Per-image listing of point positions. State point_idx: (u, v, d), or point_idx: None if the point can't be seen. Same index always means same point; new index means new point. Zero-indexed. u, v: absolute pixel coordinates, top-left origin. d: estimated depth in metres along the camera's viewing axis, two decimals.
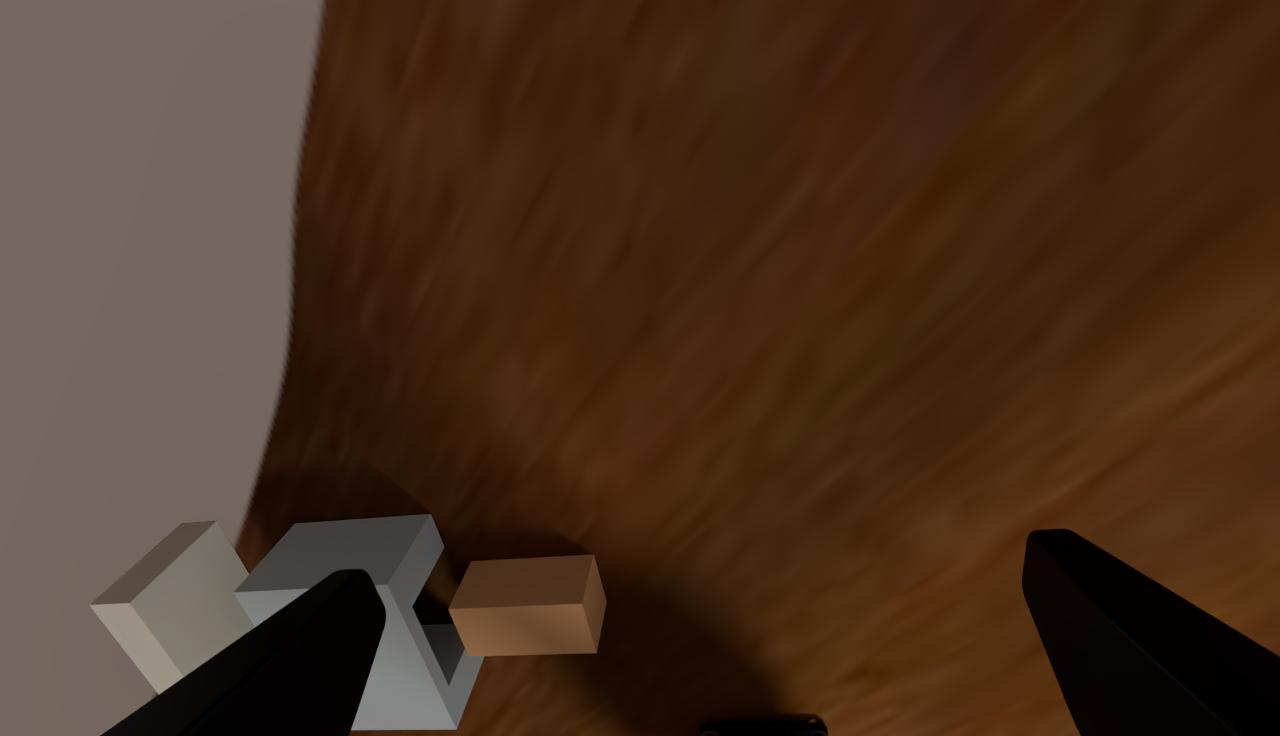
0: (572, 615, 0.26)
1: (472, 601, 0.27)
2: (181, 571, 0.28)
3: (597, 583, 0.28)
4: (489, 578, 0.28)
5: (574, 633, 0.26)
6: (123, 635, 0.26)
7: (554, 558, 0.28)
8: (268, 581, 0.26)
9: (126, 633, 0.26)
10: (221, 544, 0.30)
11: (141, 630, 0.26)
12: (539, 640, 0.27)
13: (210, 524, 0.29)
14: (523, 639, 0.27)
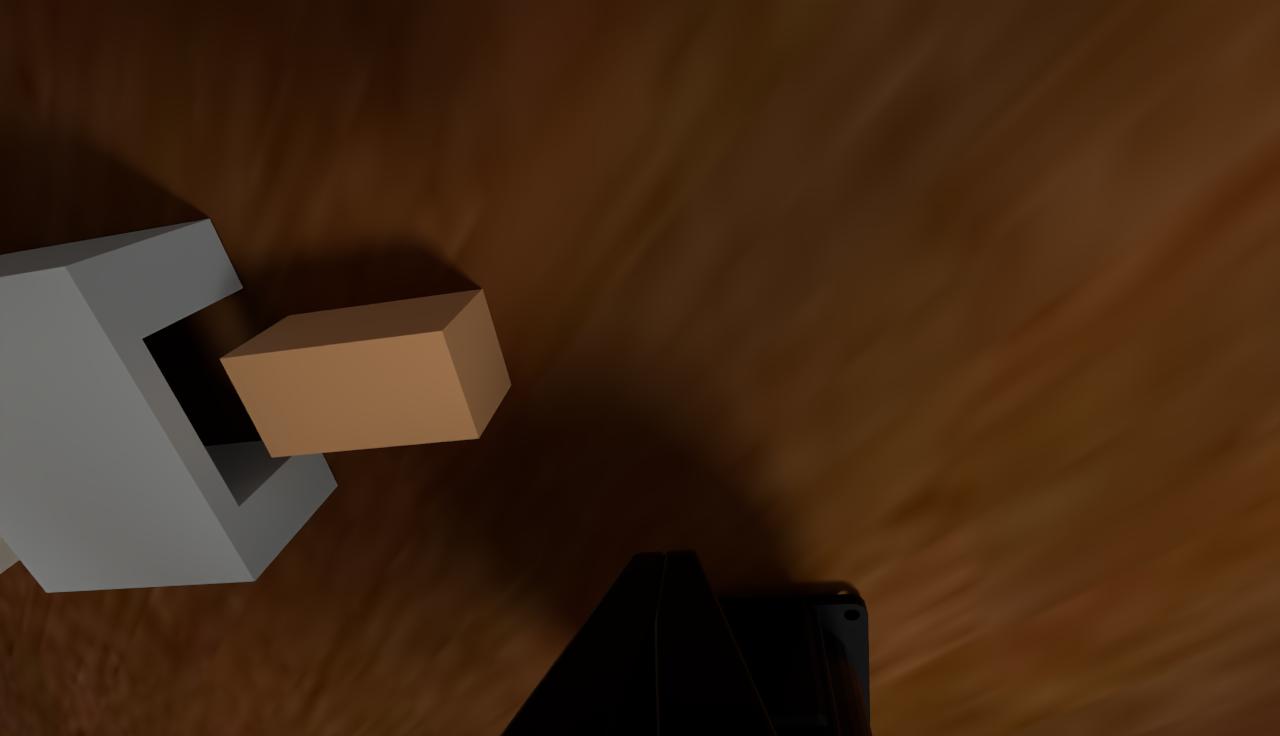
0: (429, 359, 0.15)
1: (263, 348, 0.16)
2: None
3: (489, 338, 0.17)
4: (305, 325, 0.17)
5: (437, 398, 0.15)
6: None
7: (418, 298, 0.17)
8: None
9: None
10: None
11: None
12: (380, 417, 0.16)
13: None
14: (353, 417, 0.16)
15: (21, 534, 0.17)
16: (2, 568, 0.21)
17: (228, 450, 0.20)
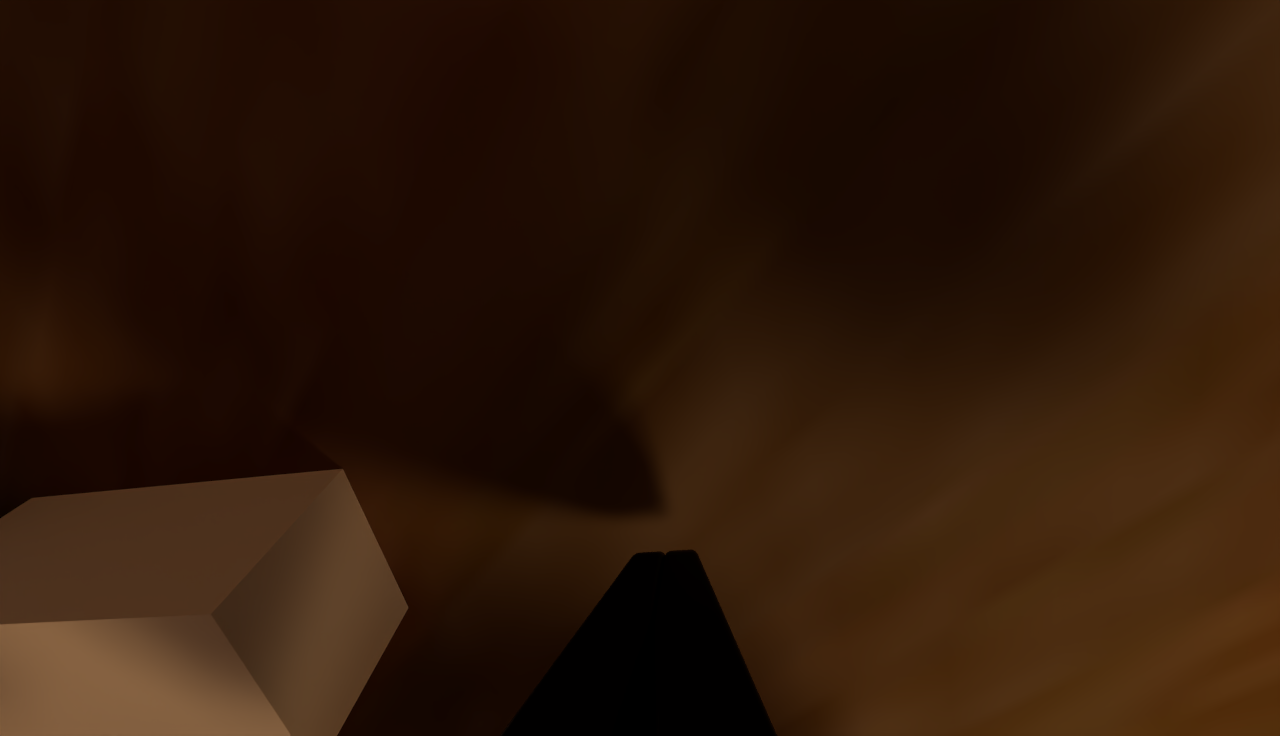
0: (197, 656, 0.07)
1: None
2: None
3: (355, 553, 0.10)
4: (28, 537, 0.09)
5: (227, 713, 0.08)
6: None
7: (235, 482, 0.10)
8: None
9: None
10: None
11: None
12: (133, 732, 0.08)
13: None
14: (85, 729, 0.08)
15: None
16: None
17: None
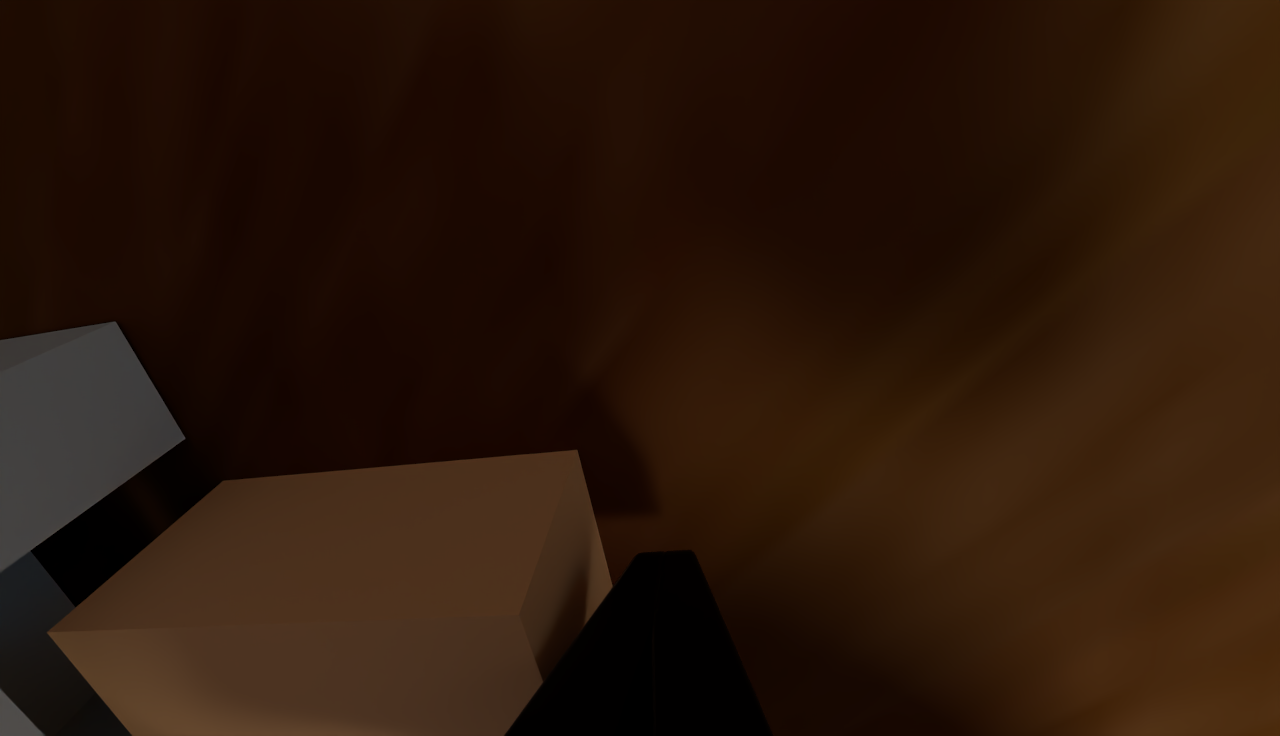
0: (487, 660, 0.07)
1: (140, 605, 0.08)
2: None
3: (586, 549, 0.09)
4: (237, 530, 0.09)
5: (499, 723, 0.07)
6: None
7: (452, 471, 0.09)
8: None
9: None
10: None
11: None
12: None
13: None
14: None
15: None
16: None
17: None
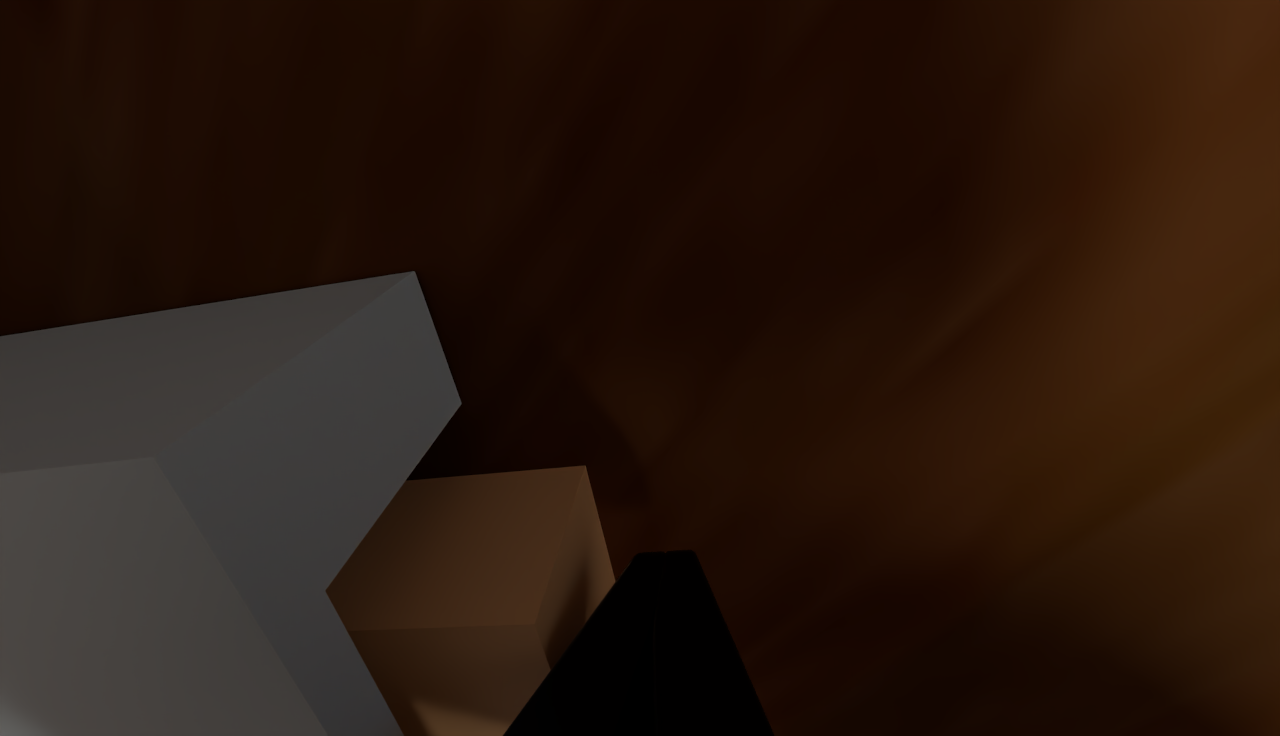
0: (502, 667, 0.07)
1: None
2: None
3: (595, 558, 0.09)
4: None
5: None
6: None
7: (465, 482, 0.09)
8: None
9: None
10: None
11: None
12: None
13: None
14: None
15: None
16: None
17: None
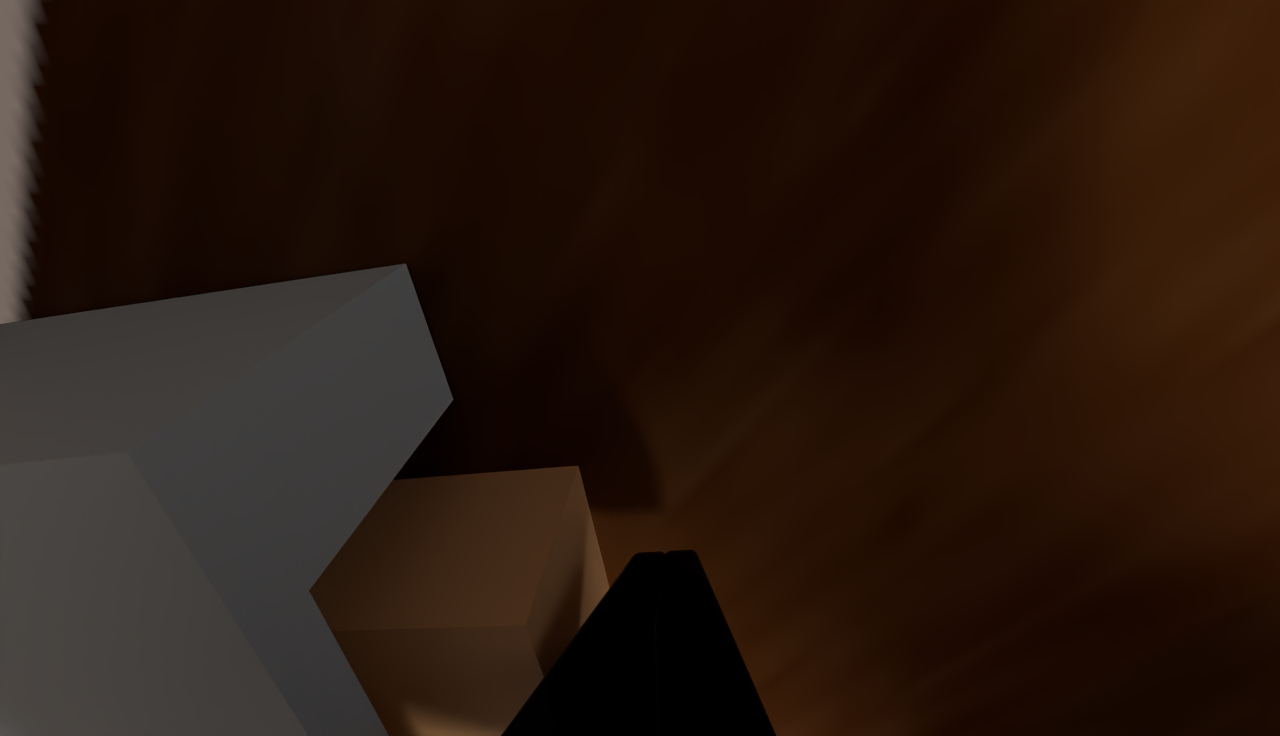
0: (493, 669, 0.07)
1: None
2: None
3: (589, 557, 0.09)
4: None
5: (504, 728, 0.07)
6: None
7: (457, 480, 0.09)
8: None
9: None
10: None
11: None
12: None
13: None
14: None
15: None
16: None
17: None
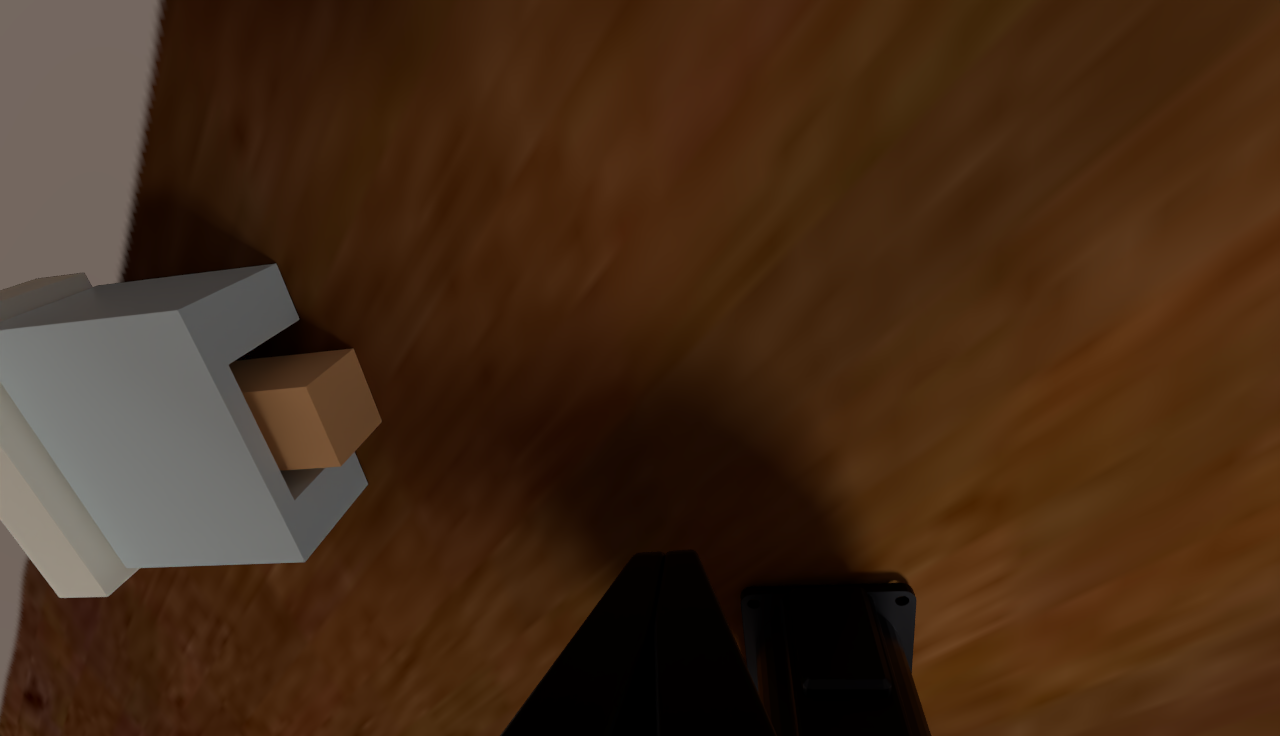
0: (298, 407, 0.19)
1: None
2: None
3: (358, 387, 0.22)
4: None
5: (306, 435, 0.20)
6: None
7: (304, 354, 0.22)
8: (21, 322, 0.18)
9: None
10: None
11: None
12: None
13: (73, 275, 0.21)
14: None
15: (111, 519, 0.21)
16: None
17: None
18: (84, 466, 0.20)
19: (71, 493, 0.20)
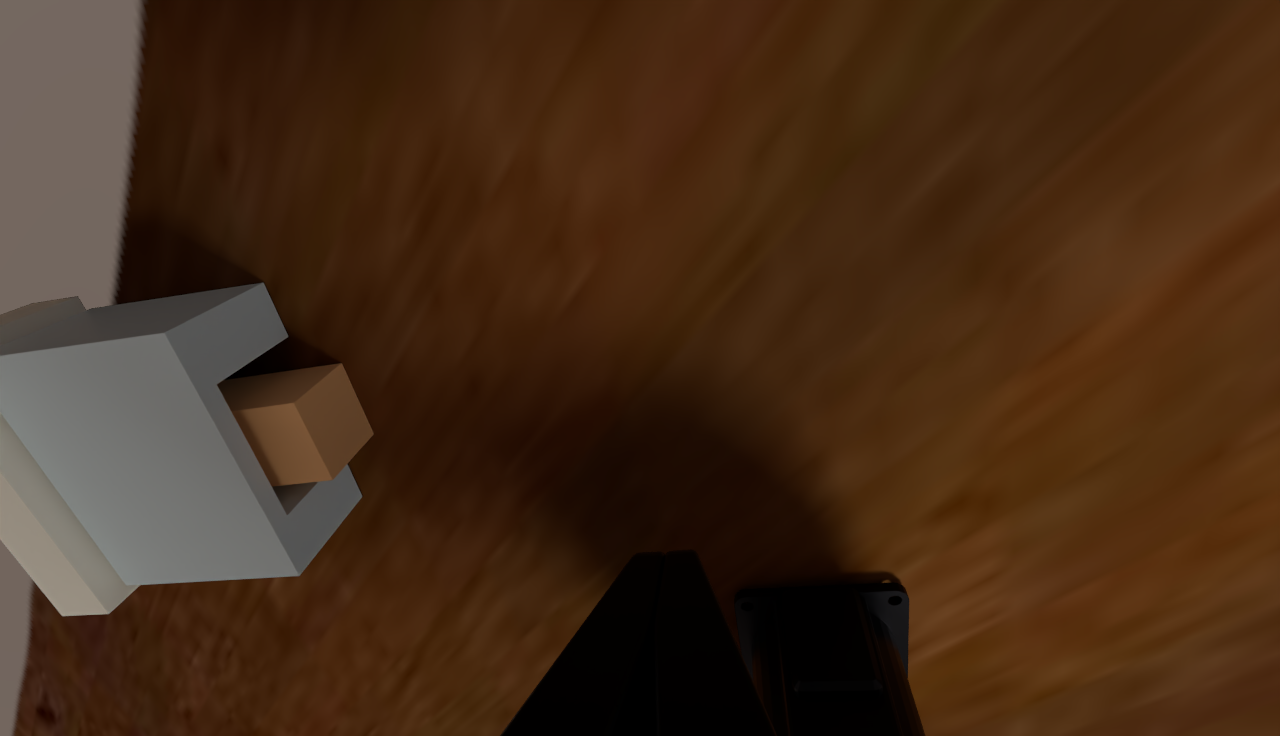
0: (287, 423, 0.20)
1: None
2: None
3: (348, 400, 0.22)
4: None
5: (297, 451, 0.20)
6: None
7: (294, 371, 0.22)
8: (15, 348, 0.18)
9: None
10: None
11: None
12: None
13: (67, 299, 0.21)
14: None
15: (109, 538, 0.21)
16: None
17: None
18: (81, 487, 0.20)
19: (70, 513, 0.21)
